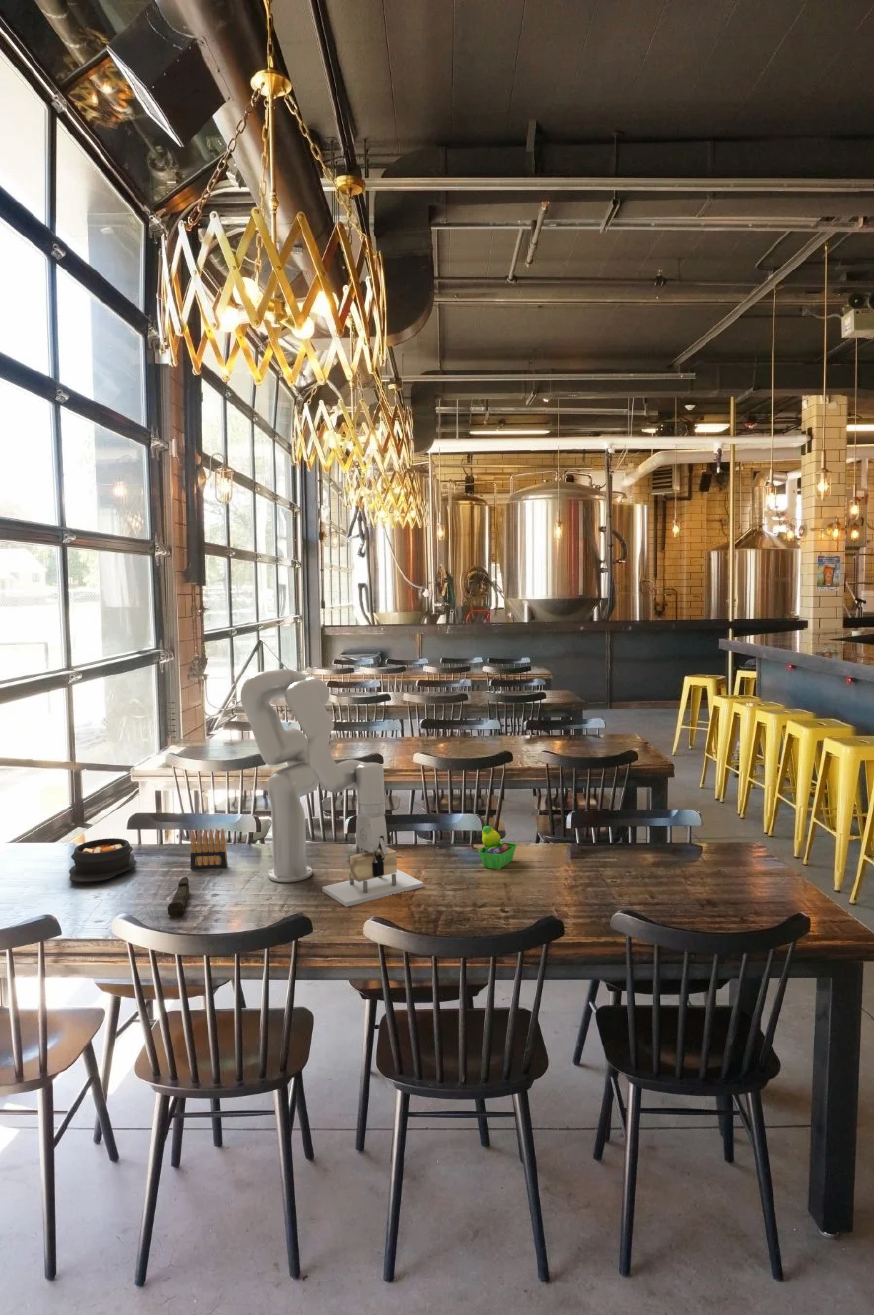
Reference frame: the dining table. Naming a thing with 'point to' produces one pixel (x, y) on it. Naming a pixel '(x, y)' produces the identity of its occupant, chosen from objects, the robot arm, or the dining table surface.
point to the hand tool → (179, 898)
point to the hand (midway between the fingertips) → (373, 872)
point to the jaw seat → (371, 888)
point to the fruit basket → (495, 850)
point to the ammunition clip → (208, 851)
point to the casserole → (101, 860)
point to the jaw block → (364, 868)
